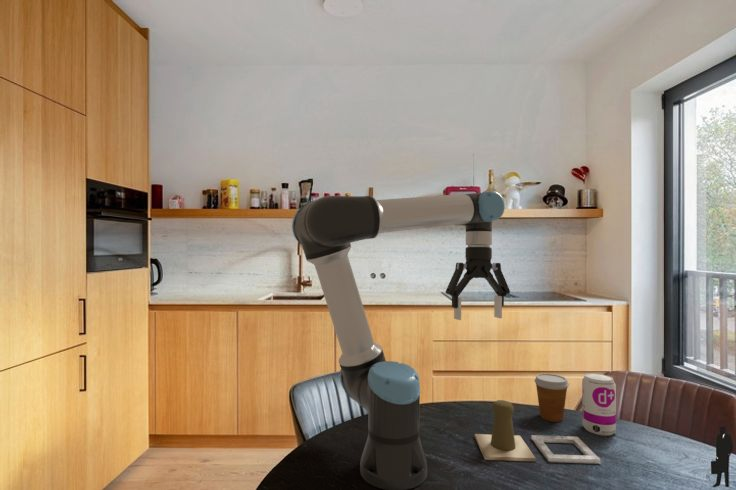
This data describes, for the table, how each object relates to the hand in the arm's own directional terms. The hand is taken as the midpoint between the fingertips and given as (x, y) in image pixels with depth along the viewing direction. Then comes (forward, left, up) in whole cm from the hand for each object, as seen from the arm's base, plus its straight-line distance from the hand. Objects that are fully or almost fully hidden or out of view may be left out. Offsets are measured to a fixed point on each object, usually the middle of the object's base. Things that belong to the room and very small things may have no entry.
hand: (478, 318), depth 119 cm
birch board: (+3, -15, -31) cm, 34 cm away
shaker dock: (+18, -15, -31) cm, 39 cm away
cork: (+3, -15, -30) cm, 34 cm away
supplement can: (+33, -2, -31) cm, 45 cm away
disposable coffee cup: (+23, +6, -31) cm, 39 cm away
